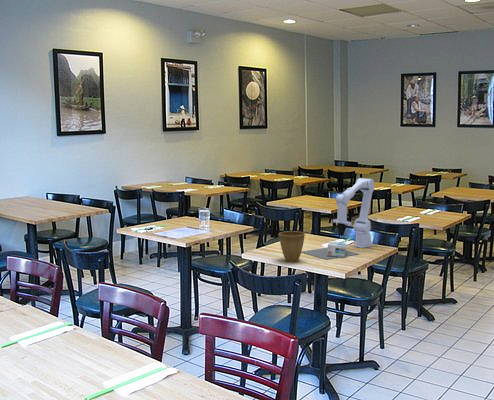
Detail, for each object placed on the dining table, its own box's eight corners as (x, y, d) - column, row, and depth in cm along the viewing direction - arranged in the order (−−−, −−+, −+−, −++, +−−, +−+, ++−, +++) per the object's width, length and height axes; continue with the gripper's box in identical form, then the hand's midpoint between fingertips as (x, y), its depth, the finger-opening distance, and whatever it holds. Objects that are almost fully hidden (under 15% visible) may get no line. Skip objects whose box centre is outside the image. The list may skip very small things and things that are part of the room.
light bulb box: (346, 242, 349) (345, 246, 339) (345, 253, 350) (344, 257, 340) (329, 240, 351) (327, 244, 341) (328, 251, 352) (326, 255, 342)
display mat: (332, 247, 369) (332, 246, 369) (358, 254, 349) (358, 253, 349) (300, 252, 354) (300, 251, 354) (326, 259, 335) (326, 259, 335)
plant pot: (302, 257, 340) (303, 230, 338) (305, 263, 326) (306, 235, 324) (277, 257, 340) (277, 230, 338) (279, 263, 325) (279, 235, 323)
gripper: (329, 212, 358) (328, 234, 360) (345, 216, 346) (344, 238, 348) (337, 212, 362) (337, 233, 363) (354, 215, 350) (353, 237, 351)
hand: (341, 235), depth 356 cm, fingers closed
